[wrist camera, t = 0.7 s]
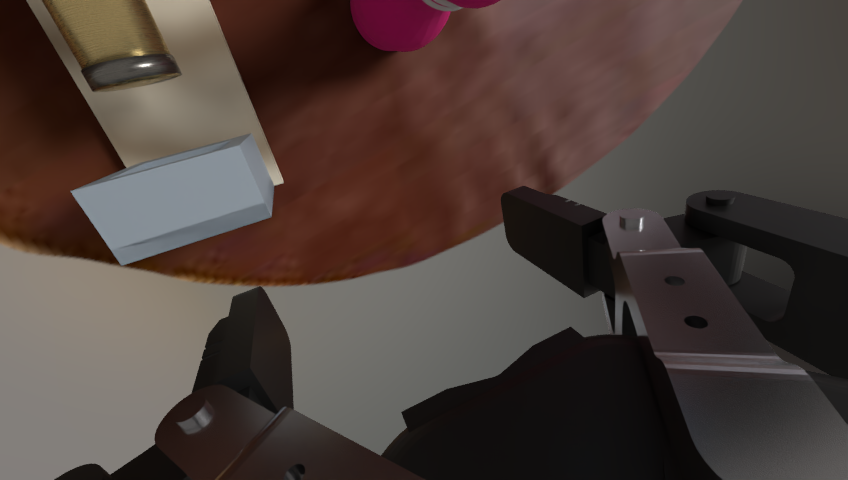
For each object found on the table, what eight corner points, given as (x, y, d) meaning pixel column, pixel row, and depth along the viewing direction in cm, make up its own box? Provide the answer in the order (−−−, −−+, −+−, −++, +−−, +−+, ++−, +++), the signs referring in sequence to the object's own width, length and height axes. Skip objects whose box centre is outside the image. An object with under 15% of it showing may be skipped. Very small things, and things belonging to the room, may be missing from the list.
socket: (137, 163, 27) (70, 191, 18) (251, 132, 29) (239, 145, 20) (168, 217, 29) (121, 265, 20) (274, 185, 31) (271, 217, 22)
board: (-76, -186, 19) (-94, -200, 18) (128, -197, 22) (121, -210, 21) (161, 217, 29) (158, 221, 28) (283, 180, 32) (283, 182, 31)
